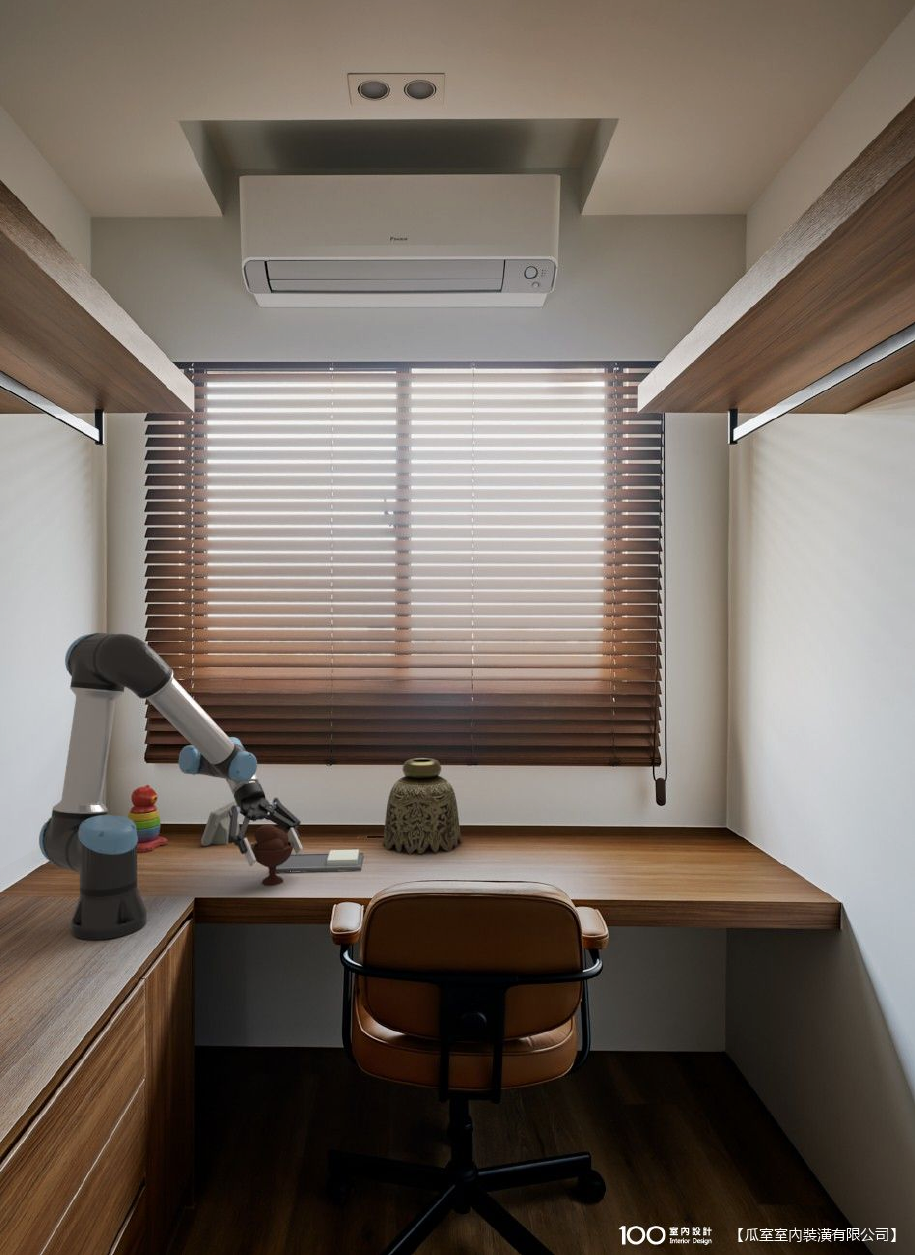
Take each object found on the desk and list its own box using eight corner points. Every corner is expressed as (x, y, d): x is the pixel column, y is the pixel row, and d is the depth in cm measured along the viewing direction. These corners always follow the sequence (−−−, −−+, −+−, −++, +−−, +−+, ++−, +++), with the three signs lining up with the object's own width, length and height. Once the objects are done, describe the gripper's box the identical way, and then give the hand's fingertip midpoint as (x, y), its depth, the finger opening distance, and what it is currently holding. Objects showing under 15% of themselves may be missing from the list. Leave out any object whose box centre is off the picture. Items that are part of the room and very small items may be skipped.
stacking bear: (146, 853, 231) (145, 791, 231) (117, 850, 234) (117, 789, 234) (171, 843, 241) (170, 784, 241) (143, 840, 245) (142, 781, 244)
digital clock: (226, 832, 253) (225, 798, 253) (250, 834, 250) (249, 800, 250) (191, 846, 238) (191, 810, 238) (216, 849, 235) (216, 813, 235)
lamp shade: (454, 856, 227) (453, 768, 226) (374, 853, 230) (374, 766, 230) (466, 834, 250) (465, 754, 249) (394, 831, 253) (393, 752, 253)
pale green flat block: (327, 866, 215) (327, 860, 215) (330, 855, 225) (330, 849, 225) (357, 865, 216) (357, 859, 216) (359, 854, 226) (359, 848, 226)
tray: (269, 872, 213) (269, 868, 213) (277, 858, 226) (277, 854, 226) (360, 870, 215) (360, 866, 214) (363, 856, 227) (363, 852, 227)
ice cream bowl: (284, 890, 199) (283, 830, 199) (242, 887, 202) (242, 828, 201) (301, 876, 210) (300, 819, 209) (261, 874, 212) (260, 817, 212)
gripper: (282, 790, 225) (312, 854, 215) (197, 805, 208) (226, 876, 197) (292, 774, 221) (323, 839, 211) (207, 788, 204) (237, 859, 193)
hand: (277, 857), depth 204 cm, fingers open, 13 cm apart
